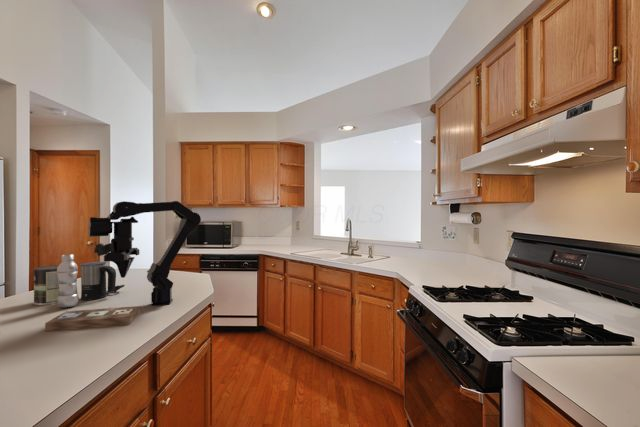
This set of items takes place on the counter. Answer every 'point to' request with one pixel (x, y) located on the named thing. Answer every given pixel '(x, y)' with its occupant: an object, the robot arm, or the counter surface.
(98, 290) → the milk frother
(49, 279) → the coffee can
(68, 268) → the plastic bottle
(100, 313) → the tile
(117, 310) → the tile
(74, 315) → the tile
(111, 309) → the board
